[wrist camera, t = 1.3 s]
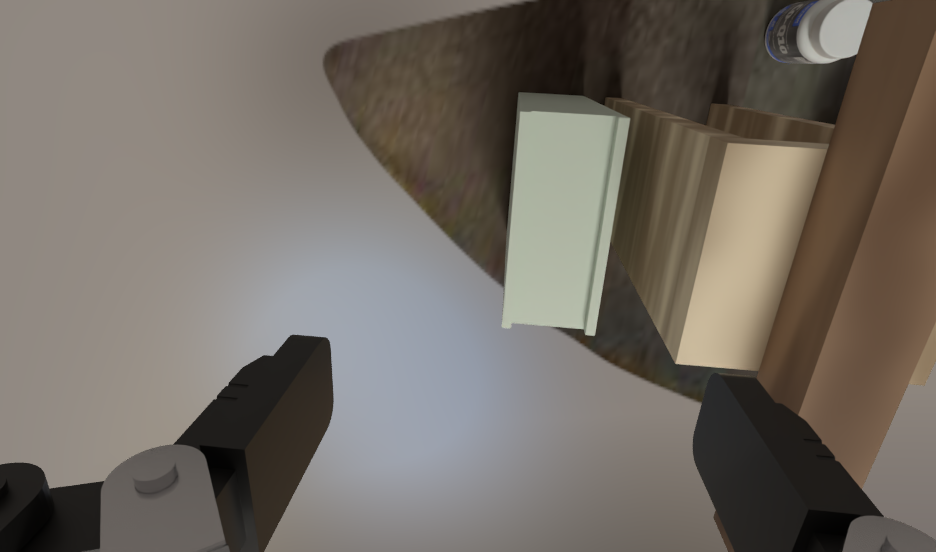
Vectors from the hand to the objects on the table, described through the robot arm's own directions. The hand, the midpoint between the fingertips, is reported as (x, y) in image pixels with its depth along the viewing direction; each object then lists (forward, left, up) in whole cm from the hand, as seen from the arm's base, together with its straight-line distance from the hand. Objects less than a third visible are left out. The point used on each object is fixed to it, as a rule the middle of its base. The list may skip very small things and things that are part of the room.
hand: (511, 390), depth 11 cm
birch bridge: (-14, +1, -42) cm, 44 cm away
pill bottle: (-23, -10, -42) cm, 49 cm away
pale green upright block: (-3, +3, -42) cm, 42 cm away
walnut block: (-14, +3, -12) cm, 18 cm away
